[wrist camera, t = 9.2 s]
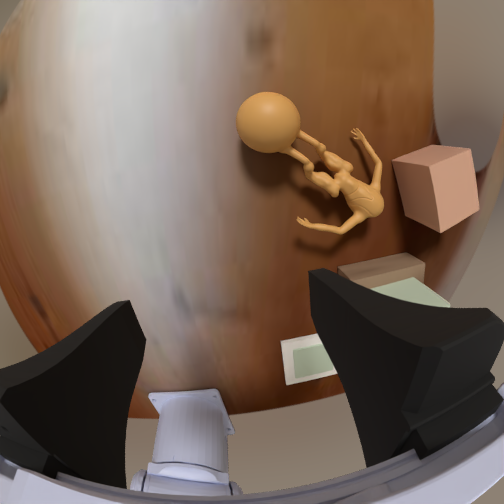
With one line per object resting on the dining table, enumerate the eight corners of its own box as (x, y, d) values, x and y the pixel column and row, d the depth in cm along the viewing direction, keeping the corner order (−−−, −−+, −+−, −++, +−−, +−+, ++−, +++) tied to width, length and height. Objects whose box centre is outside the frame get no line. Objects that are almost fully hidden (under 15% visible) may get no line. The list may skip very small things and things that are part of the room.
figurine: (195, 156, 16) (309, 239, 23) (233, 160, 11) (361, 267, 18) (265, 65, 16) (355, 163, 23) (321, 45, 11) (410, 174, 18)
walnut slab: (401, 317, 24) (416, 332, 21) (339, 335, 24) (350, 354, 21) (406, 252, 22) (425, 263, 19) (337, 266, 22) (351, 280, 19)
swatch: (340, 369, 26) (341, 373, 26) (285, 382, 26) (286, 386, 26) (342, 327, 24) (344, 331, 24) (280, 341, 24) (281, 345, 24)
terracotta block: (442, 196, 20) (479, 209, 16) (404, 215, 21) (440, 233, 16) (431, 144, 19) (470, 148, 14) (390, 160, 19) (429, 166, 14)
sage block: (413, 277, 19) (450, 303, 15) (408, 327, 21) (437, 358, 16) (361, 291, 19) (393, 325, 15) (359, 343, 21) (384, 380, 16)
